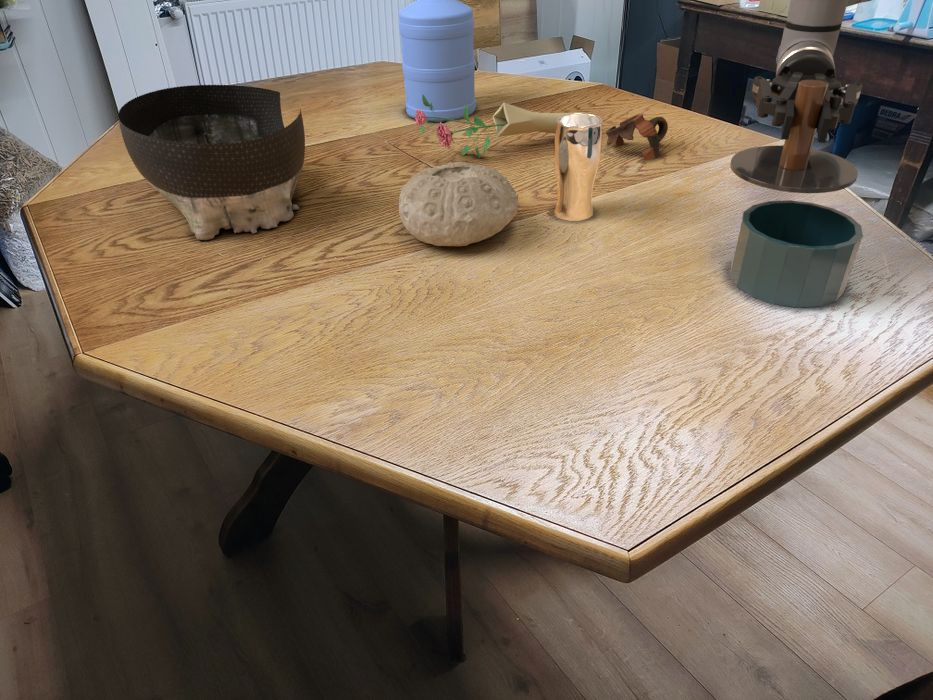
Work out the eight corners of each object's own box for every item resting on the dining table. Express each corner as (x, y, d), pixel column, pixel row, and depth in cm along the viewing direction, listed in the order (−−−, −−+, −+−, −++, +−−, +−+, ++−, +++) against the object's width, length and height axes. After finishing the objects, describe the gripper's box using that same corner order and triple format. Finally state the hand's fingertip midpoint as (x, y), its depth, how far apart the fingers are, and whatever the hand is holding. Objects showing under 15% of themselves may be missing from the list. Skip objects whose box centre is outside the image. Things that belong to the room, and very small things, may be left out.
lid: (851, 160, 90) (878, 70, 83) (859, 204, 79) (890, 105, 72) (733, 149, 95) (750, 64, 88) (724, 190, 84) (743, 96, 77)
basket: (310, 156, 133) (295, 68, 124) (321, 233, 105) (303, 128, 96) (157, 173, 128) (130, 83, 119) (127, 258, 101) (87, 150, 91)
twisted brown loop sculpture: (637, 171, 123) (619, 128, 120) (609, 177, 132) (591, 137, 129) (687, 140, 126) (670, 98, 123) (655, 149, 134) (639, 109, 132)
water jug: (483, 119, 148) (480, -27, 132) (411, 126, 146) (400, -22, 129) (467, 99, 161) (463, -37, 144) (401, 105, 158) (389, -32, 142)
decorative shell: (408, 208, 112) (403, 148, 106) (517, 207, 111) (518, 147, 105) (393, 261, 97) (386, 194, 91) (518, 261, 96) (519, 194, 90)
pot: (839, 266, 92) (858, 207, 87) (844, 319, 82) (866, 256, 77) (732, 252, 96) (745, 195, 91) (725, 300, 86) (739, 239, 81)
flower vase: (578, 179, 138) (423, 177, 121) (550, 144, 145) (399, 138, 128) (603, 128, 130) (441, 118, 113) (573, 93, 137) (415, 79, 120)
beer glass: (564, 228, 104) (569, 130, 95) (543, 210, 109) (547, 116, 100) (604, 220, 106) (613, 123, 97) (582, 203, 111) (588, 109, 102)
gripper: (861, 108, 95) (875, 168, 78) (738, 100, 100) (725, 154, 83) (878, 51, 91) (897, 101, 73) (748, 45, 96) (737, 90, 79)
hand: (806, 129), depth 78 cm, fingers closed on lid, 3 cm apart
